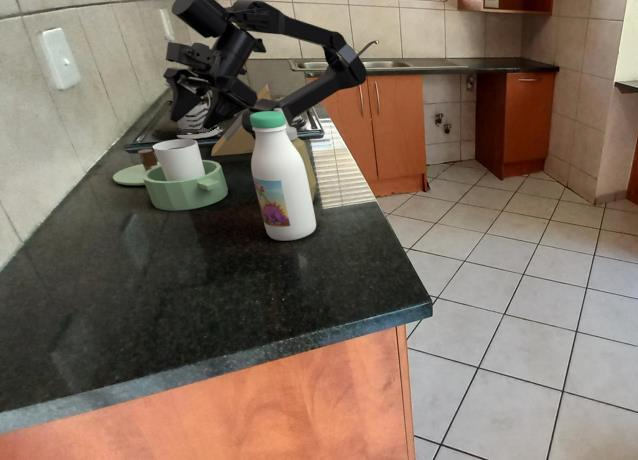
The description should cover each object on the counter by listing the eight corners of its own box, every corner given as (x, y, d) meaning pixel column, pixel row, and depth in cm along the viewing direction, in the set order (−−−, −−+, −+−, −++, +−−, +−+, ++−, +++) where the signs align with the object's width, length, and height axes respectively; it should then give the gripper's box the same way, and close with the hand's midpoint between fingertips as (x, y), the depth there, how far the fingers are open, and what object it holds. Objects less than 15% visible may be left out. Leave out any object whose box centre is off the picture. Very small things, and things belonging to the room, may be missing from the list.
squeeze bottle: (302, 213, 79) (282, 116, 70) (264, 207, 80) (240, 111, 71) (328, 196, 86) (312, 106, 77) (292, 191, 87) (273, 102, 78)
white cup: (218, 187, 86) (204, 139, 81) (202, 201, 80) (185, 150, 75) (182, 187, 85) (165, 139, 80) (163, 201, 79) (143, 149, 74)
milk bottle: (306, 216, 78) (284, 106, 68) (324, 232, 73) (303, 115, 64) (260, 229, 73) (229, 111, 63) (276, 247, 68) (246, 123, 59)
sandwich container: (213, 146, 109) (195, 85, 102) (279, 140, 116) (267, 83, 109) (210, 156, 103) (191, 92, 95) (281, 150, 109) (268, 89, 102)
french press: (167, 135, 115) (133, 34, 103) (207, 125, 125) (180, 32, 113) (195, 140, 112) (163, 37, 100) (233, 130, 122) (208, 35, 110)
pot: (195, 178, 91) (187, 153, 88) (250, 196, 84) (243, 170, 82) (130, 198, 81) (119, 170, 78) (187, 219, 75) (176, 190, 72)
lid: (169, 161, 98) (161, 138, 95) (204, 173, 93) (197, 148, 91) (101, 179, 88) (89, 153, 85) (137, 193, 83) (126, 165, 80)
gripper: (156, 20, 78) (110, 91, 75) (225, 28, 72) (178, 106, 68) (211, 61, 88) (173, 126, 85) (275, 71, 82) (237, 141, 78)
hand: (188, 124), depth 79 cm, fingers open, 9 cm apart
